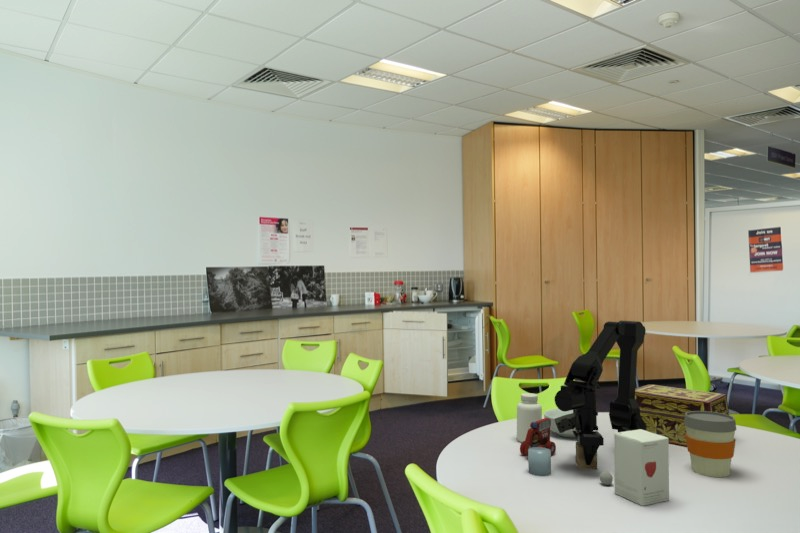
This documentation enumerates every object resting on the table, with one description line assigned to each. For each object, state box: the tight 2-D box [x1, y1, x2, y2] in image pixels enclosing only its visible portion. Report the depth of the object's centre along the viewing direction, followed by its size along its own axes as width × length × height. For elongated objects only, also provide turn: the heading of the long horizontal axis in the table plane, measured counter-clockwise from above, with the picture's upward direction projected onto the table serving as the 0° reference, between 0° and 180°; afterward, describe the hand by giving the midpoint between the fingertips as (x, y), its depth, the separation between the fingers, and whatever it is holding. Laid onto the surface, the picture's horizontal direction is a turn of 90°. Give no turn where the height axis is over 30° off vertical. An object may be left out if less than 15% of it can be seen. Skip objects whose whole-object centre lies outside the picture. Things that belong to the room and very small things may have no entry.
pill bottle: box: [516, 392, 543, 443], centre depth 183 cm, size 8×8×15 cm
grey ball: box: [599, 470, 614, 486], centre depth 144 cm, size 3×3×3 cm
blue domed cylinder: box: [527, 447, 552, 477], centre depth 154 cm, size 6×6×6 cm
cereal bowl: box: [543, 407, 577, 438], centre depth 190 cm, size 17×17×7 cm
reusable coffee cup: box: [684, 411, 737, 478], centre depth 153 cm, size 12×13×15 cm
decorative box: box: [635, 384, 730, 448], centre depth 186 cm, size 28×19×15 cm
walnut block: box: [575, 441, 598, 470], centre depth 158 cm, size 5×5×6 cm
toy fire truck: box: [519, 417, 557, 457], centre depth 169 cm, size 7×12×10 cm, turn 133°
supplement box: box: [613, 429, 670, 507], centre depth 136 cm, size 9×9×15 cm
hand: (586, 461), depth 158 cm, fingers closed on walnut block, 5 cm apart
